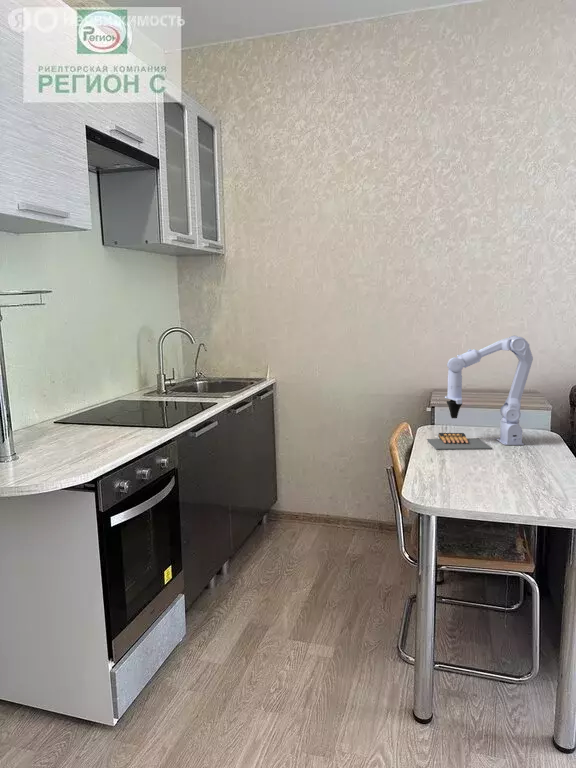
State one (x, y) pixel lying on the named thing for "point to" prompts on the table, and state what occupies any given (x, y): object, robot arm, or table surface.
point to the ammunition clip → (453, 437)
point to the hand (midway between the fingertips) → (454, 418)
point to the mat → (459, 444)
